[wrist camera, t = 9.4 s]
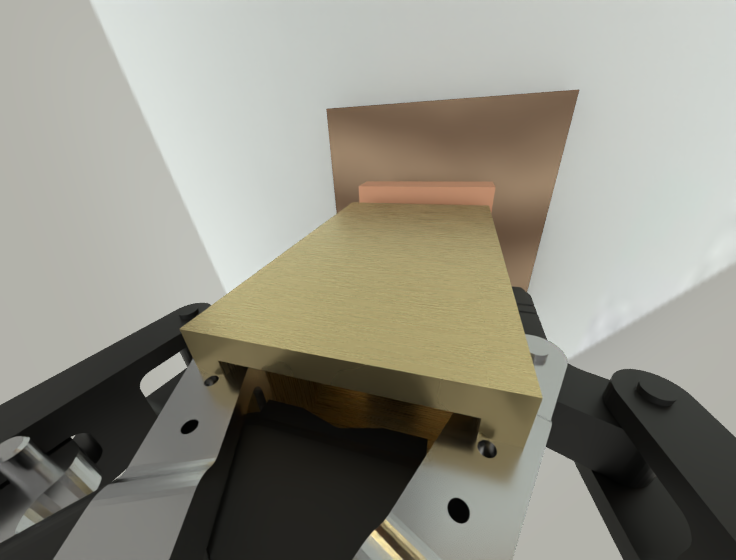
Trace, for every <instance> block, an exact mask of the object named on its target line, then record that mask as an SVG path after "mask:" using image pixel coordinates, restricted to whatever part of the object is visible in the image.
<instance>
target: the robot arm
mask: <svg viewBox="0 0 736 560" xmlns="http://www.w3.org/2000/svg"><path fill="white" fill-rule="evenodd" d="M512 290H513V293H514V297H515V300H516V304H517V308H518V311H519V315H520V318H521V322H522V325H523V329H524V333H525V336H526V340H527V343H528V347H529V350H530V354H531V358H532V361H533V365H534V368H535V372H536V375H537V379H538V383H539V386H540V390H541V393H542V397H543V399H542V402H541V404H540V407H539V410H538V412H537V415H536V418H535V420H534V423H533V426H532V428H531V431H530V434H529V436H528V439H527V441H526V444H525V447H524V448H521V447H517V446H513V445H509V444H505V443H500V442H496V441H492V440H488V439H484V438H479V437H477V420H476V417H473V416H468V415H464V414H459V413H455V412H453V414H452V416H451V417H450V419H449V420H448V422H447V423H446V425H445V427H444V428H443V430H442V431H441V433H440V434H439V436H438V438H437V439H436V441H435V442H434V444H433V446H432V447H431V449H430V450H429V452H428V453H427V443H428V439H425V438H421V437H417V436H413V435H409V434H405V433H401V432H397V431H393V430H389V429H385V428H338V427H335V426H333V425H331V424H330V423H328V422H326V421H325V420H323V419H321V418H319V417H318V416H316V415H314V414H313V413H311V412H309V411H308V410H306V409H304V408H302V407H298V406H294V405H290V404H286V403H282V402H278V401H275V400H274V397H273V394H272V390H271V387H270V384H269V381H268V378H267V374H266V371H263V370H259V369H254V368H250V367H245V366H241V365H235V367H234V368H233V369H232V370H231V371H230V372H229V373H228V374H227V375H226V376H225V377H223V376H219V375H214V374H210V373H206V372H202V371H199V369H198V367H197V365H196V363H195V361H194V359H193V357H192V355H191V353H190V350H189V348H188V346H187V344H186V342H185V340H184V338H183V336H182V334H181V332H180V328H181V327H183V326H184V325H185V324H187V323H188V322H190V321H191V320H192V319H194V318H195V317H196V316H198V315H199V314H200V313H202V312H203V311H205V310H206V309H207V308H209V307H210V306H211V305H210V304H208V303H195V304H191V305H187V306H184V307H182V308H179V309H177V310H176V311H174V312H172V313H170V314H168V315H166V316H164V317H163V318H161V319H159V320H157V321H155V322H153V323H151V324H150V325H148V326H146V327H144V328H142V329H140V330H139V331H137V332H135V333H133V334H131V335H129V336H127V337H126V338H124V339H122V340H120V341H118V342H116V343H114V344H113V345H111V346H109V347H107V348H105V349H103V350H101V351H100V352H98V353H96V354H94V355H92V356H90V357H88V358H87V359H85V360H83V361H81V362H79V363H77V364H76V365H74V366H72V367H70V368H68V369H66V370H65V371H63V372H61V373H59V374H57V375H55V376H53V377H51V378H50V379H48V380H46V381H44V382H42V383H41V384H39V385H37V386H35V387H33V388H31V389H29V390H28V391H26V392H24V393H22V394H20V395H18V396H16V397H14V398H13V399H11V400H9V401H7V402H5V403H3V404H1V405H0V560H512V559H513V556H514V552H515V549H516V546H517V542H518V538H519V535H520V532H521V528H522V525H523V521H524V518H525V515H526V511H527V508H528V504H529V501H530V498H531V494H532V491H533V488H534V484H535V481H536V477H537V474H538V470H539V467H540V464H541V460H542V457H543V453H544V450H545V447H548V448H549V449H551V450H553V451H555V452H558V453H559V454H561V455H564V456H565V457H567V458H569V459H571V460H573V461H574V462H575V464H576V467H577V468H578V470H579V472H580V474H581V476H582V478H583V480H584V482H585V484H586V486H587V488H588V490H589V492H590V494H591V496H592V498H593V500H594V502H595V504H596V506H597V508H598V510H599V512H600V514H601V516H602V518H603V520H604V522H605V524H606V526H607V528H608V530H609V532H610V534H611V536H612V538H613V540H614V542H615V544H616V546H617V548H618V550H619V552H620V554H621V555H622V558H623V560H736V437H734V436H733V435H732V434H731V433H730V432H729V431H728V430H727V429H726V428H725V427H724V426H723V425H722V424H721V423H720V422H719V421H718V420H716V419H715V418H714V417H713V416H712V415H711V414H710V413H709V412H708V411H707V410H706V409H705V408H704V407H703V406H702V405H701V404H699V402H698V401H696V400H695V399H694V398H693V397H692V396H691V395H690V394H689V393H688V392H686V391H685V390H684V389H682V388H681V387H679V386H678V385H676V384H674V383H673V382H671V381H669V380H667V379H665V378H662V377H660V376H658V375H655V374H652V373H649V372H645V371H641V370H635V369H623V370H619V371H617V372H615V373H614V374H613V376H612V378H611V379H610V380H608V379H605V378H603V377H600V376H597V375H594V374H591V373H588V372H585V371H583V370H580V369H578V368H576V367H574V366H572V365H570V364H568V360H567V357H566V355H565V354H564V352H563V351H562V350H561V349H560V348H559V347H557V346H556V345H555V344H553V343H552V342H550V341H548V340H547V338H546V336H545V333H544V330H543V328H542V325H541V322H540V320H539V317H538V315H537V312H536V309H535V307H534V304H533V301H532V298H531V296H530V295H529V294H528V293H527V292H526V291H525V290H523V289H522V288H521V287H513V286H512ZM178 352H180V353H181V355H182V357H183V359H184V361H185V363H186V365H187V368H186V369H185V370H183V371H182V372H181V373H179V374H178V375H176V376H175V377H174V378H172V379H171V380H170V381H168V382H167V383H165V384H164V385H163V386H161V387H160V388H159V389H157V390H156V391H154V392H153V393H152V394H150V395H149V396H148V397H146V398H145V396H144V395H143V393H142V392H141V390H140V382H141V380H142V378H143V377H144V376H145V375H146V374H147V373H148V372H149V371H151V370H152V369H154V368H155V367H157V366H158V365H160V364H161V363H163V362H165V361H166V360H168V359H169V358H171V357H172V356H174V355H175V354H177V353H178ZM252 393H254V395H255V398H256V401H257V404H258V406H259V409H260V412H252V413H247V409H248V406H249V403H250V399H251V396H252ZM246 413H247V414H246ZM74 435H75V437H74V438H73V439H72V438H71V436H74ZM125 469H126V471H125V472H124V473H123V474H122V476H120V477H119V478H117V479H116V480H114V479H115V478H116V477H117V476H119V475H120V474H121V473H122V472H123V471H124V470H125ZM113 480H114V481H113Z"/></svg>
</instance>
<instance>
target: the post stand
mask: <svg viewBox="0 0 736 560" xmlns="http://www.w3.org/2000/svg"><path fill="white" fill-rule="evenodd" d="M578 93H579V90H568V91H554V92H541V93H528V94H515V95H502V96H489V97H476V98H463V99H450V100H437V101H423V102H410V103H397V104H384V105H371V106H358V107H345V108H332V109H327V119H328V129H329V140H330V150H331V160H332V170H333V180H334V190H335V200H336V210H337V213H339V212H340V211H341V210H343V209H344V208H345V207H347V206H348V205H350V204H351V203H352V202H358V203H359V186H360V185H362V184H363V183H365V182H367V181H454V182H493V183H494V185H495V187H496V188H495V194H494V200H493V206H492V212H491V215H492V218H493V222H494V225H495V229H496V233H497V236H498V240H499V243H500V247H501V250H502V254H503V258H504V261H505V265H506V268H507V272H508V275H509V279H510V283H511V286H513V287H521V288H522V289H523V290H525V291H526V292H527V289H528V286H529V282H530V278H531V274H532V270H533V266H534V263H535V259H536V255H537V251H538V247H539V243H540V239H541V236H542V232H543V228H544V224H545V220H546V216H547V212H548V209H549V205H550V201H551V197H552V193H553V189H554V185H555V182H556V178H557V174H558V170H559V166H560V162H561V158H562V155H563V151H564V147H565V143H566V139H567V135H568V131H569V128H570V124H571V120H572V116H573V112H574V108H575V105H576V101H577V97H578Z"/></svg>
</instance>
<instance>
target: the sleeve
mask: <svg viewBox="0 0 736 560" xmlns="http://www.w3.org/2000/svg"><path fill="white" fill-rule="evenodd" d="M180 332H181V334H182V336H183V338H184V340H185V342H186V344H187V346H188V348H189V350H190V353H191V355H192V357H193V359H194V361H195V363H196V365H197V367H198V369H199V371H202V372H206V373H210V374H214V375H219V376H223V377H225V376H226V375H227V374H228V373H229V372H230V371H231V370H232V369H233V368H234V367H235V365H241V366H245V367H250V368H254V369H259V370H263V371H266V374H267V378H268V381H269V384H270V387H271V390H272V394H273V397H274V400H275V401H278V402H282V403H286V404H290V405H294V406H298V407H302V408H304V409H306V410H308V411H309V412H311V413H313V414H314V415H316V416H318V417H319V418H321V419H323V420H325V421H326V422H328V423H330V424H331V425H333V426H335V427H338V428H385V429H389V430H393V431H397V432H401V433H405V434H409V435H413V436H417V437H421V438H425V439H428V443H427V453H428V452H429V450H430V449H431V447H432V446H433V444H434V442H435V441H436V439H437V438H438V436H439V434H440V433H441V431H442V430H443V428H444V427H445V425H446V423H447V422H448V420H449V419H450V417H451V416H452V414H453V412H455V413H459V414H464V415H468V416H473V417H476V420H477V437H479V438H484V439H488V440H492V441H496V442H500V443H505V444H509V445H513V446H517V447H521V448H524V447H525V444H526V441H527V439H528V436H529V434H530V431H531V428H532V426H533V423H534V420H535V418H536V415H537V412H538V410H539V407H540V404H541V402H542V399H543V397H542V393H541V390H540V386H539V383H538V379H537V375H536V372H535V368H534V365H533V361H532V358H531V354H530V350H529V347H528V343H527V340H526V336H525V333H524V329H523V325H522V322H521V318H520V315H519V311H518V308H517V304H516V300H515V297H514V293H513V290H512V286H511V283H510V279H509V275H508V272H507V268H506V265H505V261H504V258H503V254H502V250H501V247H500V243H499V240H498V236H497V233H496V229H495V225H494V222H493V218H492V215H491V211H490V208H489V206H487V205H444V204H401V203H358V202H352V203H351V204H350V205H348V206H347V207H345V208H344V209H343V210H341V211H340V212H339V213H337V214H336V215H334V216H333V217H332V218H330V219H329V220H328V221H326V222H325V223H324V224H322V225H321V226H319V227H318V228H317V229H315V230H314V231H313V232H311V233H310V234H309V235H307V236H306V237H304V238H303V239H302V240H300V241H299V242H298V243H296V244H295V245H293V246H292V247H291V248H289V249H288V250H287V251H285V252H284V253H283V254H281V255H280V256H278V257H277V258H276V259H274V260H273V261H272V262H270V263H269V264H267V265H266V266H265V267H263V268H262V269H261V270H259V271H258V272H257V273H255V274H254V275H252V276H251V277H250V278H248V279H247V280H246V281H244V282H243V283H241V284H240V285H239V286H237V287H236V288H235V289H233V290H232V291H231V292H229V293H228V294H226V295H225V296H224V297H222V298H221V299H220V300H218V301H217V302H215V303H214V304H213V305H211V306H210V307H209V308H207V309H206V310H205V311H203V312H202V313H200V314H199V315H198V316H196V317H195V318H194V319H192V320H191V321H190V322H188V323H187V324H185V325H184V326H183V327H181V328H180ZM252 412H260V409H259V406H258V404H257V401H256V398H255V395H254V393H252V396H251V399H250V403H249V406H248V409H247V413H252ZM247 413H246V414H247Z"/></svg>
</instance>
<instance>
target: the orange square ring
mask: <svg viewBox="0 0 736 560" xmlns="http://www.w3.org/2000/svg"><path fill="white" fill-rule="evenodd" d="M495 188H496V187H495V185H494V183H493V182H454V181H367V182H365V183H363V184H362V185H360V186H359V203H401V204H444V205H487V206H489V208H490V211H491V212H492V206H493V200H494V194H495Z"/></svg>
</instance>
